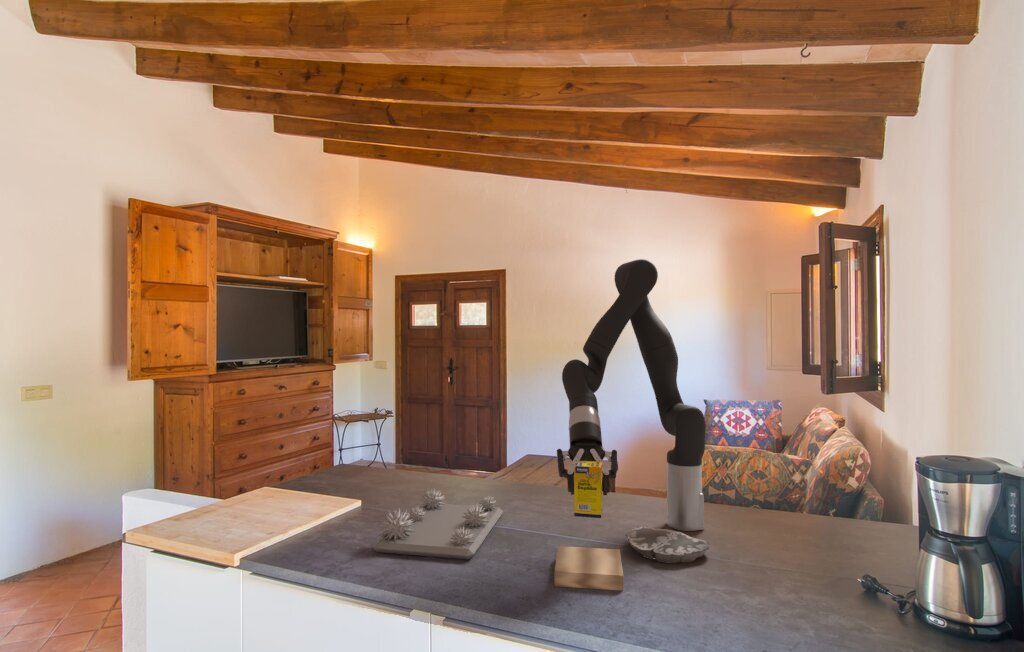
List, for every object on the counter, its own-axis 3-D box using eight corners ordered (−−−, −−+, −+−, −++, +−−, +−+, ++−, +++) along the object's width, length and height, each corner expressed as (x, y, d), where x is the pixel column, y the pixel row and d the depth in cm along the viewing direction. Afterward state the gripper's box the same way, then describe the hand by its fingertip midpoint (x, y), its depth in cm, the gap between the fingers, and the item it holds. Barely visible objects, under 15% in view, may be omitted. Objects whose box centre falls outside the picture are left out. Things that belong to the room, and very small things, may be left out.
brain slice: (611, 554, 129) (611, 542, 129) (640, 534, 142) (640, 523, 142) (693, 576, 117) (693, 562, 117) (716, 552, 130) (716, 539, 130)
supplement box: (601, 518, 114) (601, 467, 115) (573, 516, 115) (573, 465, 116) (602, 510, 120) (602, 461, 120) (575, 508, 121) (576, 459, 122)
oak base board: (619, 562, 123) (619, 549, 123) (623, 590, 109) (623, 575, 109) (558, 559, 125) (558, 546, 125) (554, 585, 111) (554, 571, 111)
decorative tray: (472, 565, 123) (472, 521, 123) (367, 556, 128) (367, 513, 128) (504, 516, 157) (504, 482, 158) (420, 511, 162) (420, 477, 163)
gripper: (554, 419, 126) (556, 483, 114) (616, 420, 125) (624, 484, 113) (554, 438, 131) (555, 501, 119) (613, 439, 131) (621, 502, 118)
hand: (589, 493), depth 116 cm, fingers closed on supplement box, 6 cm apart
